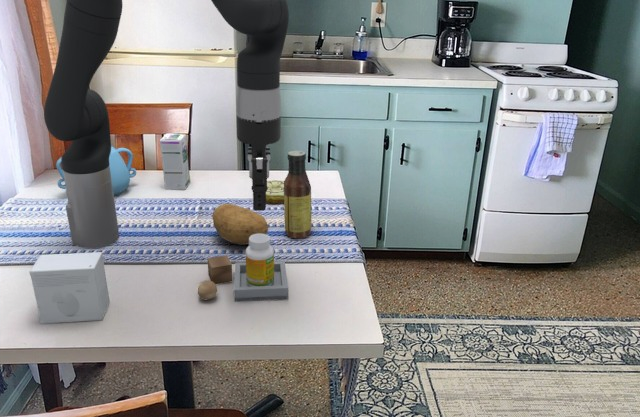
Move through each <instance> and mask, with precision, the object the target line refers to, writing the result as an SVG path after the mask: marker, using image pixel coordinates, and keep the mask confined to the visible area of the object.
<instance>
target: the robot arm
mask: <svg viewBox="0 0 640 417" xmlns="http://www.w3.org/2000/svg"><path fill="white" fill-rule="evenodd" d="M211 2H212V4H213V5H214V7H215V9H216V10H217V12H219V13H220V15H221V16H222V18H223V19H224V21H225V22H226V23H227V24H228V25H229V26H230V27H232V29H234V30H235V31H237V32H239V33H241V34H243V35H248V36H249V42H248V43H247V46H246V47H244V49H243V48H242V50H240V51H239V52H238V55H237V58H236V74H237V76H236V83H237V84H236V85H237V87H236V88H237V89H236V98H235V105H236V106H235V107H236V108H235V110H236V111H235V112H236V139H237V140H238V141H239V142H241V143H243V144H246V145H247V144H248V145H251V146H250V147H249V146H248V147H247V163H248V168H249V170H248V174H249V175H248V177H249V178H250V179H251V182H252V184H251V190H252V209H253V211H254V212H257V211H259V212H262V211H265V210H267V203H266V192H267V190H268V187H267V181H268V179H269V178H270V163H271V147H267V146H268V145H273V144H276V143H277V142H279V141H280V139H281V137H282V136H281V135H282V134H281V132H282V131H281V130H282V128H281V127H282V124H281V122H282V121H281V120H282V99H281V98H282V96H281V88H280V87H281V85H280V83H281V82H280V81H281V79H280V75H281V74H280V72H281V66H280V64H281V62H280V61H281V57H282V53H283V49H284V47H285V41H286V36H287V32H288V28H289V27H288V26H289V21H290V20H289V19H290V18H289V17H290V14H289V12H290V10H289V4H288V2H287V0H211ZM122 12H123V0H66V3H65V9H64V15H63V22H62V23H63V25H62V31H61V37H60V42H59V47H58V52H57V58H56V63H55V66H54V71H53V75H52V79H51V82H50V86H49V88H48V91H47V94H46V98H45V102H44V107H43V116H44V117H43V119H44V123H45V126H46V129H47V131H48V132H49V134H50V135H52V137H53V138H55V139H57V140H58V141H62V142H71V143H70V144H69V147H68V148H67V149H66V150H65V151H64V153H63V154H62V155H61V157H62V158H61V157H60V158H61V162H62V163H61V168H62V171H63V174H64V180H65V181H64V185H66V189H65V190H66V196H67V200H68V201H67V204H66V205H65V211H66V215H67V216H66V217H67V221H68V227H69V233H70V239H71V244H72V246H77V245H78V247H80V248H84V249H85V248H86V249H98V248H103V247H107V246H110V245H112V244H114V243H115V242H117V241H118V240H119V238H120V232H119V230H120V228H119V223H118V217H117V211H116V210H117V209H116V202H115V195H114V193H113V186H112V179H111V172H110V164H109V156H110V153H111V146H112V139H111V138H112V137H111V127H110V126H111V125H110V117H109V111H108V108H107V105H106V103H105V101H104V99H103V98H102V96H101V95H100V94H99V93H98V92H97V91H95V90H94V89H91V88H90V85H91V83H92V82H91V81H92V80H93V78H94V75H95V74H96V72H97V71H98V69H99V68H100V66H101V65H102V63H103V62H104V61H105V59H106V58H107V56H108V54H109V53H110V51H111V49H112V48H113V46H114V44H115V41H116V38H117V36H118V32H119V26H120V23H121V17H122Z"/></svg>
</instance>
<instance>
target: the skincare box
mask: <svg viewBox="0 0 640 417" xmlns="http://www.w3.org/2000/svg"><path fill="white" fill-rule="evenodd" d="M29 276H30V279H31V283H32V287H33V292H34V297H35V301H36V305H37V310H38V315H39V322H40V325H41V324H42V325H44V324H45V325H46V324H58V323H72V322H75V323H76V322H87V321H88V322H89V321H103V319H104V317H105V315H106V312H107V310H108V306H109V304H110V301H111V300H110V295H109V294H110V293H109V288H108V281H107V274H106V269H105V263H104V256H103V251H102V252H101V251H96V252H76V253H57V254H56V253H55V254H41V255H40V256H39V257H38V258H37V260H36V261H35V263H34V264H33V265H32V267H31V268H30V270H29Z"/></svg>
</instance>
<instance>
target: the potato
mask: <svg viewBox="0 0 640 417" xmlns="http://www.w3.org/2000/svg"><path fill="white" fill-rule="evenodd" d="M211 217H212V223H213V227H214V228H215V230H216V232H217V234H218V236H220V237H221V238H223V239H224V240H225V241H228V242H230V243H233V244H235V245H249V237H250V236H251V235H253V234H258V233H261V234H266V235H268V231H269V226H268V224H267V219H266V218H265V217H264V216H263V215H261V214H259V213H257V211H255V210H251V209H249V208H246V207H243V206H241V205H240V206H239V205H237V204H233V203H232V204H231V203H224V204H220V205H218V206H217V207H216V208H215V209H214V210H213V211H212V215H211Z"/></svg>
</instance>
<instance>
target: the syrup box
mask: <svg viewBox="0 0 640 417" xmlns="http://www.w3.org/2000/svg"><path fill="white" fill-rule="evenodd" d="M187 144H188V143H187V134H185V133H180V132H178V133H177V132H175V133H172V132H171V133H165V135H163V136H162V137H161V138H160V140H159V145H160V146H159V147H160V153H161V154H160V155H161V164H162V172H163V182H164V189H165V190H168V191H169V190H171V191H172V190H173V191H185V190H187V188H188V186H189V185H190V183H191V176H190V166H189V165H190V163H189V154H188V145H187Z"/></svg>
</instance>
